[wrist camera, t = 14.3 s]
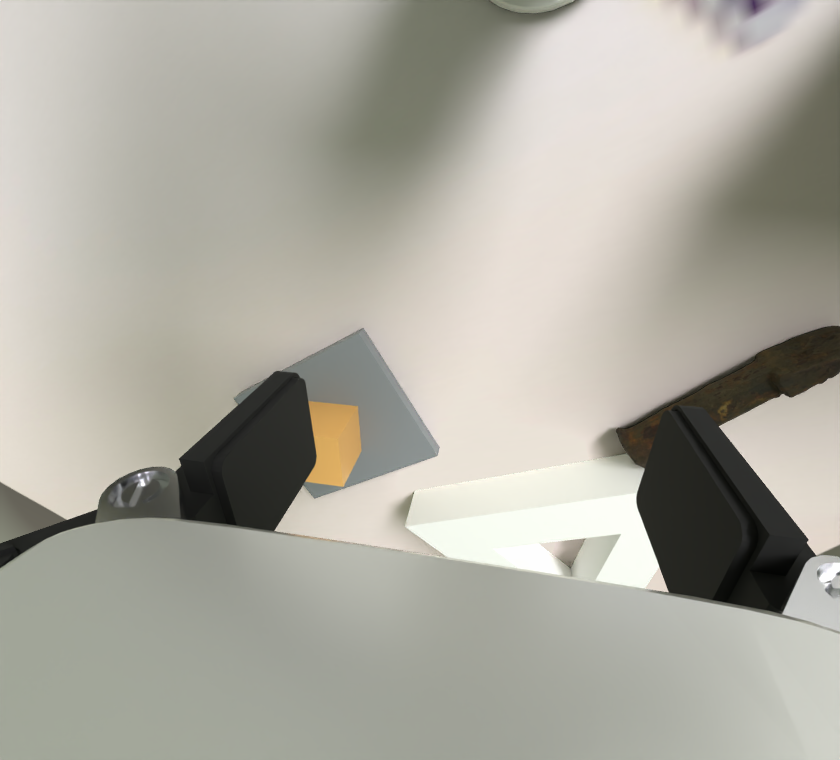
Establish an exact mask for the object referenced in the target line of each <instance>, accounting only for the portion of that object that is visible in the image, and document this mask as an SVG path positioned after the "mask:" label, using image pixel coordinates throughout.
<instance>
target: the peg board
mask: <svg viewBox="0 0 840 760" xmlns="http://www.w3.org/2000/svg"><path fill="white" fill-rule="evenodd" d="M282 371H283V372H294V373H297V374H298V375H299V376H300V378H303V379H304V380H305V383H306V389H307V395H308V401H313V402H323V403H332V404H342V405H352V406H358V414H359V426H360V438H361V453H360V455H359V457H358V459H357V461H356V463H355V465H354V467H353V469H352V471H351V473H350V475H349V477H348V479H347V481H346V483H345V485H344V487H341V486H333V485H326V484H319V483H311V482H305V483H304V484H303V485H304V486H305V487H306V489H307V490H308V491H309V492H310V493H311V495H312V496H313V497H314V498H318V497H320V496H323V495H326V494H329V493H332V492H335V491H338V490H341V489H343V488H346V487H349V486H352V485H355V484H358V483H361V482H364V481H366V480H369V479H372V478H375V477H378V476H381V475H384V474H387V473H389V472H392V471H395V470H398V469H401V468H404V467H407V466H410V465H412V464H415V463H418V462H421V461H424V460H427V459H430V458H433V457H435V456H438V451H439V446H438V445H437V443H436V441H435V440H434V438H433V437H432V435H431V434H430V432H429V430H428V429H427V427H426V426H425V424H424V423H423V421H422V419H421V418H420V416H419V415H418V413H417V412H416V410H415V408H414V407H413V405H412V404H411V402H410V401H409V399H408V397H407V396H406V394H405V393H404V391H403V390H402V388H401V387H400V385H399V383H398V382H397V380H396V379H395V377H394V376H393V374H392V372H391V371H390V369H389V368H388V366H387V365H386V363H385V361H384V360H383V358H382V357H381V355H380V354H379V352H378V350H377V349H376V347H375V346H374V344H373V343H372V341H371V339H370V338H369V336H368V335H367V333H366V332H365V330H364V328H363V329H361V330H359V331H357V332H355V333H353V334H351V335H349V336H347V337H345V338H343V339H342V340H340V341H338V342H336V343H334V344H332V345H330V346H328V347H326V348H324V349H322V350H321V351H319V352H317V353H315V354H313V355H311V356H309V357H307V358H305V359H303V360H301V361H300V362H298V363H296V364H294V365H292V366H290V367H288V368H286V369H284V370H282ZM267 379H268V378H267ZM265 380H266V379H265ZM265 380H263V381H261V382H259V383H258V384H256V385H254V386H252V387H250V388H248V389H246V390H244V391H242V392H241V393H239V394H238V395H237V396H236V397H235V398H234V400H235V401H236V402H237V403H238V405H239V404H240V403H241V402H242V401H243V400H244V399H246V398H247V397H248V396H249V395H250V394H251V393H252V392H253V391H254V390H255V389H257V388H258V387H259V386H260V385H261V384H262V383H263V382H264V381H265Z"/></svg>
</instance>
